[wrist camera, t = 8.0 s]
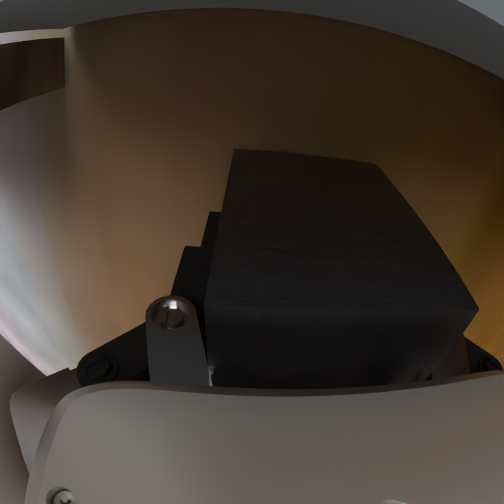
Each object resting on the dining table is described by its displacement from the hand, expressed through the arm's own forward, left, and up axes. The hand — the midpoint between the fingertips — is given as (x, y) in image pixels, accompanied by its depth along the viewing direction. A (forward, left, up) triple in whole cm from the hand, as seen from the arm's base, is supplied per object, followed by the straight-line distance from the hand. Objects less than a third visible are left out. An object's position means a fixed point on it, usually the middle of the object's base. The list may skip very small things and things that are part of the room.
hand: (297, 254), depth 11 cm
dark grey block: (0, 0, -1) cm, 1 cm away
